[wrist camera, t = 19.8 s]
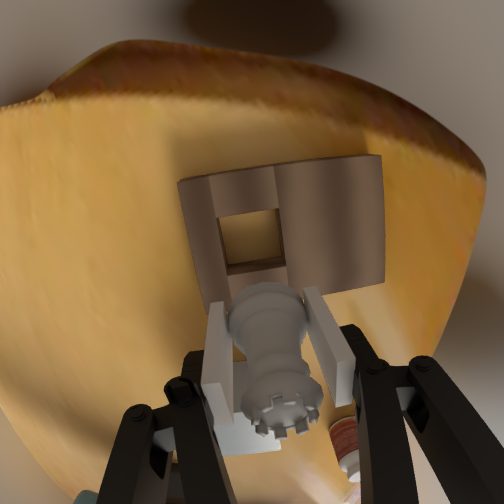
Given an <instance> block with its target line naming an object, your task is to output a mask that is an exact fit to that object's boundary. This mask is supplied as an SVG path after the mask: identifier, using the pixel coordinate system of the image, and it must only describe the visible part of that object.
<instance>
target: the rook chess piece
mask: <svg viewBox="0 0 504 504" xmlns="http://www.w3.org/2000/svg"><path fill="white" fill-rule="evenodd" d="M228 325H229V329H228V331H229V334H230V336H231V338H232V340H233V342H234V344H235V346H236V347H237V348H238V349H239V350H240V351H241V352H242V353H243V354H244V355H245V356H246V360H247V363H248V367H249V369H248V370H247V372H246V373H245V384H246V386H247V388H248V389H247V390H246V391H245V393H244V394H243V396H242V397H241V405H240V409H241V410H242V412H243V414H244V415H245V417H246V418H247V419H249V420H250V421H251V426H252V425H255V433H257V434H259V435H261V436H262V437H265V436H266V435H268V434H269V433H268V430H271V431H274V437H275V440H279V439H287V433H286V431H287V430H290V429H294V428H295V429H296V433H297V434H298V435H299V436H300V435H302V434H304V433H306V432H307V431H309V426H308V421H309V422H310V423H317V421H318V418H319V412H318V409H319V407H320V406H321V402H322V399H323V396H324V395H323V392H322V388H321V385H320V384H318V383H317V382H316V381H315V380H314V379H313V378H311V377H310V373H311V372H310V369H309V366H308V364H307V363H306V362H305V361H304V360H303V359H302V358H301V344H302V342H303V339H304V338H305V335H306V330H307V325H308V318H307V314H306V311H305V306H304V303H303V299H302V298H301V297H300V296H299V295H298V294H297V293H296V291H295V290H294V289H293V288H290V287H288V286H286V285H283V284H281V283H277V282H261V283H258V284H255V285H252V286H249V287H246V288H245V289H244V290H243V291H241V292H240V293H239V294H238V295H236V296H235V297H234V299H233V301H232V303H231V305H230V307H229V308H228Z"/></svg>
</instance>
